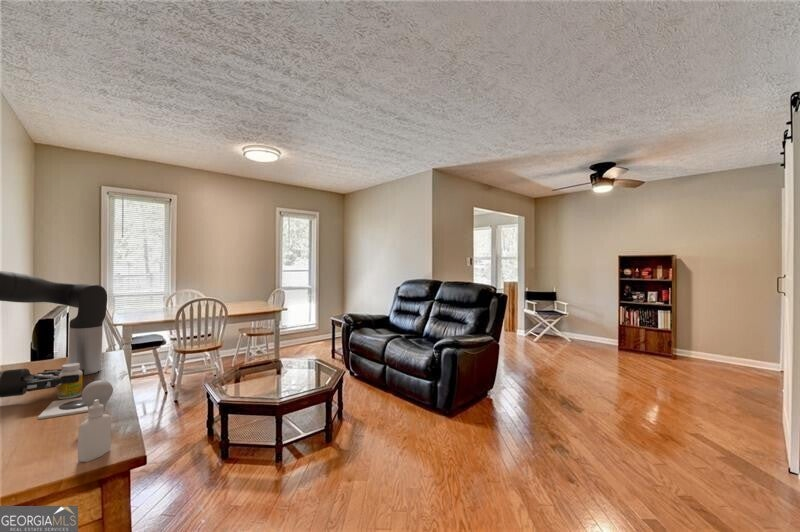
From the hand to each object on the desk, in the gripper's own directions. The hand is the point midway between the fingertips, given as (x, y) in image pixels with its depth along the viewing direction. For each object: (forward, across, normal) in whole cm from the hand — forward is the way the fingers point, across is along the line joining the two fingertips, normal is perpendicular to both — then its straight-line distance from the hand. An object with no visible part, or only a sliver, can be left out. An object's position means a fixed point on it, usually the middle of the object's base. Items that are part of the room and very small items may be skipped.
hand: (81, 375), depth 106 cm
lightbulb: (+8, -27, +6) cm, 29 cm away
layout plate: (+1, -11, +6) cm, 13 cm away
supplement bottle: (-3, 0, +6) cm, 7 cm away
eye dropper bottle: (+11, -46, +6) cm, 48 cm away
